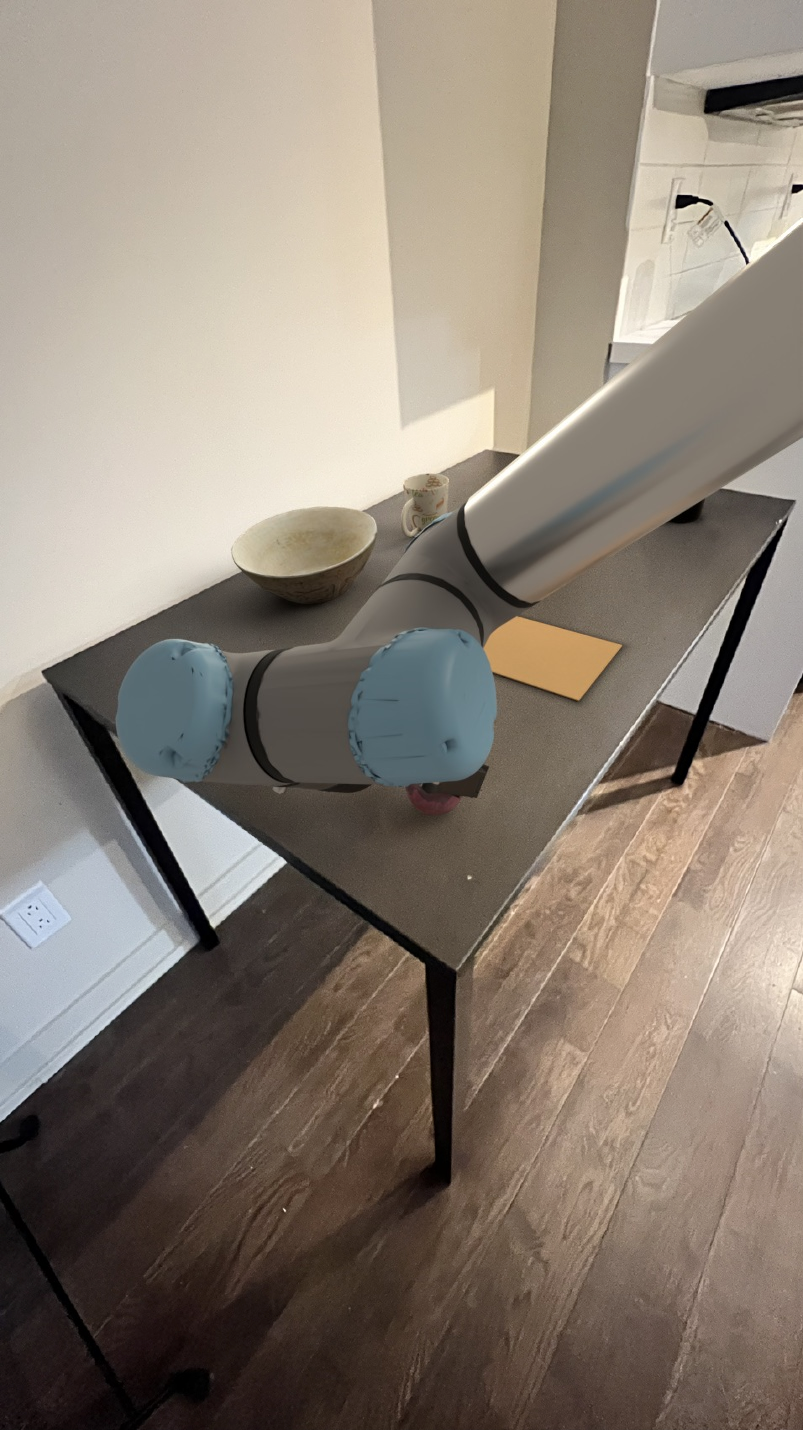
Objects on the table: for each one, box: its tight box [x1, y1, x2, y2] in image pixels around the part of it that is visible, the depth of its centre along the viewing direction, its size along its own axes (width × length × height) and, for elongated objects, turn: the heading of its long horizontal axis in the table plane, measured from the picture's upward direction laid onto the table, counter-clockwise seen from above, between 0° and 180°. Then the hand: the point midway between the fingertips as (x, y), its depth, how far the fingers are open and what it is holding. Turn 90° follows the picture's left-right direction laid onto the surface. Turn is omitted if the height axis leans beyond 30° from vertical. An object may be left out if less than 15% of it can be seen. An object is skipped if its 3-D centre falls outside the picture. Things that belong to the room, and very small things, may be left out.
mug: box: [400, 473, 450, 538], centre depth 115 cm, size 8×13×10 cm, turn 148°
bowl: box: [230, 506, 378, 605], centre depth 102 cm, size 24×24×10 cm
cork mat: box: [483, 615, 623, 702], centre depth 86 cm, size 20×14×1 cm
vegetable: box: [404, 783, 463, 816], centre depth 62 cm, size 6×6×10 cm
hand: (453, 765), depth 65 cm, fingers closed on vegetable, 6 cm apart
